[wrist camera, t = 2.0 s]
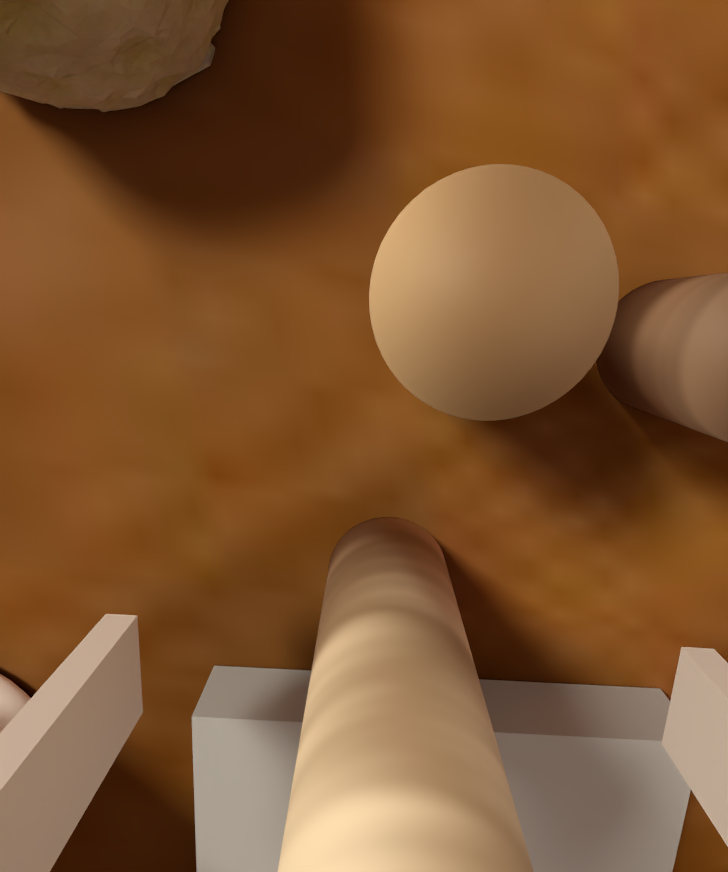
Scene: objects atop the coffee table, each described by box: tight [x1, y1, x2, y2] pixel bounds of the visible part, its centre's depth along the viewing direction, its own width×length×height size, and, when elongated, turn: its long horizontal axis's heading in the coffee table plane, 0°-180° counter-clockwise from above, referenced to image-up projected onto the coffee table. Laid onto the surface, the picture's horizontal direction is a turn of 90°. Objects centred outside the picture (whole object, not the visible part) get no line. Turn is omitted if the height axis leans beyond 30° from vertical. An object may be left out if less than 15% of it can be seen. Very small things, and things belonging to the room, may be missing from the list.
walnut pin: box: [597, 273, 728, 442], centre depth 14 cm, size 4×4×5 cm
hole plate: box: [192, 666, 691, 872], centre depth 20 cm, size 16×14×2 cm
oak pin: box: [369, 164, 619, 421], centre depth 13 cm, size 4×4×8 cm
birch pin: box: [278, 517, 533, 872], centre depth 13 cm, size 4×4×12 cm
